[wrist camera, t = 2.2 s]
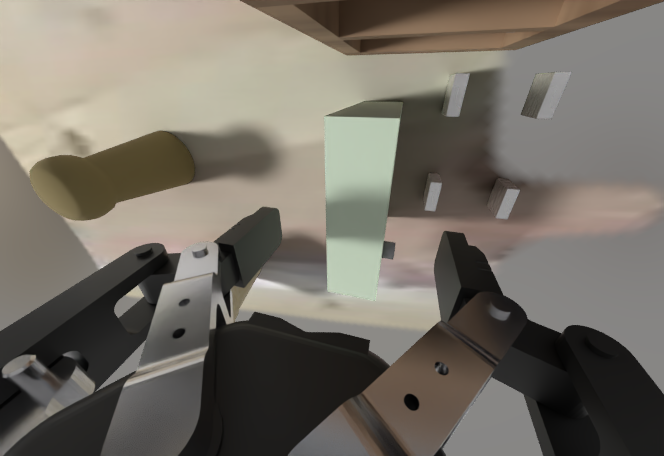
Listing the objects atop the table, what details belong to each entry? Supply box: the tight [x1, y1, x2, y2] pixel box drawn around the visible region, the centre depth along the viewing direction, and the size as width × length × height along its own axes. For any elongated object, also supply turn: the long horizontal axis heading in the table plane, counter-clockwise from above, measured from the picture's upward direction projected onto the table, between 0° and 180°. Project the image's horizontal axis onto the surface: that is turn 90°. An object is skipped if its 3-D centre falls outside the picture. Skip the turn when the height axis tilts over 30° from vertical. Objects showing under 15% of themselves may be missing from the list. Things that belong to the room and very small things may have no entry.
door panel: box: [324, 101, 403, 301], centre depth 16 cm, size 10×4×11 cm, turn 0°
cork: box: [30, 131, 195, 221], centre depth 22 cm, size 6×6×11 cm
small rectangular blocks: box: [423, 72, 572, 219], centre depth 17 cm, size 9×6×2 cm, turn 0°
